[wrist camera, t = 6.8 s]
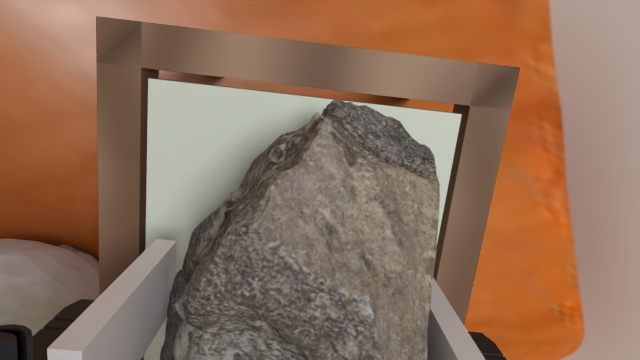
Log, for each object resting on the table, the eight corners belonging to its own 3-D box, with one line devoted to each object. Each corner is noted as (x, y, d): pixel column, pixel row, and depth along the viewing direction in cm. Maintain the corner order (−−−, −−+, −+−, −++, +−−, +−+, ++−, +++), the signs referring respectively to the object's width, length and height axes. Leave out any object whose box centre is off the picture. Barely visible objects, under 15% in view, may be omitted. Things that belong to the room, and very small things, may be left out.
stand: (193, 298, 38) (101, 469, 21) (205, 51, 33) (96, 16, 16) (376, 314, 39) (428, 491, 22) (415, 76, 34) (520, 67, 17)
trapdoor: (155, 475, 24) (133, 530, 21) (164, 79, 19) (138, 78, 16) (377, 490, 25) (386, 545, 22) (446, 111, 19) (470, 116, 17)
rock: (363, 424, 18) (390, 613, 11) (165, 393, 17) (75, 572, 11) (440, 119, 15) (535, 141, 8) (205, 74, 14) (115, 60, 8)
